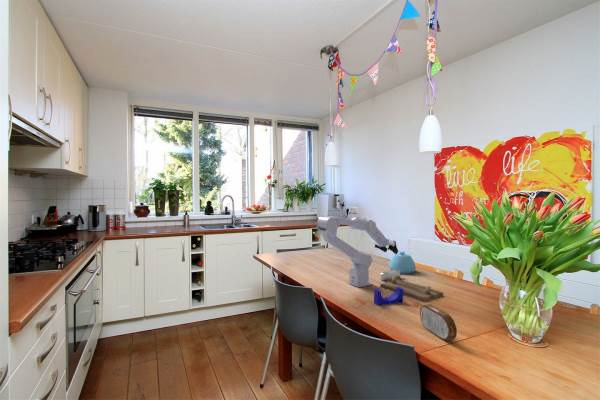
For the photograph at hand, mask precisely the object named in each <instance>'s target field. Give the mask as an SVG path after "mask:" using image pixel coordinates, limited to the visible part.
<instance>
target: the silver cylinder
mask: <svg viewBox="0 0 600 400" xmlns="http://www.w3.org/2000/svg"><path fill="white" fill-rule="evenodd" d="M379 275H380V277H379V279H380V280H381V281H380V282H383V281H386V282H390V281H392V277H393V276H395V277H396V280H401V274H400V270H392V271H391V270H388V271H383V272H380V274H379ZM389 280H390V281H389Z"/></svg>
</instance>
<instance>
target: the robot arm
mask: <svg viewBox="0 0 600 400" xmlns="http://www.w3.org/2000/svg"><path fill="white" fill-rule="evenodd" d="M340 225H343V226H350V228H351V229H352V230H358V231H364V232H366V233H367V235H368V236H369V238H371V239H372V241H371V242H372V244H374V248H376V249H378V250H380V251H381V252H383V253H387V251H388V250H389V251H391V252H392V253H393V254H399V249H398V246H397V242H396V240H391V239H390V238H388V235H385V234H384V233H382V231H381V230H380V229H379V228H378V227H377V223H376V221H373V220H370V219H367V218H364V217H363V218H360V217H359V216H355V217H352V218H346V217H341V216H330V215H329V216H328V215H327V216H324V215H321V216H319V217H318V218H317V219H316V228H317V230H318V231H319V233H320V234H321V238H322V239H323V241H324V242H326V243H327V244H328V245H330V246H332V247H333V248H335V250H338V251H339V252H341V253H342V254H344V255H345V256H347V257H348V259H350V261H351V262H352V263H353V267H352V268H350V270H349V277H348V278H349V282H347V283H348V284H350V285H352V286H354V287H356V288H357V287H358V288H361V287H365V286H366V287H367V286H370V285H373V282H370V281H369V280H370V278H369V277H370V276H369V275H370V271H369V269H370V266H371V265H372V263H373V258H372V256H371V255H370V254H365V253H364V252H361V251H359V250H358V249H356V248H354V247H353V246H351V245H350V244H348V243H347V242H345V241H344V240H343V239H341V238H340V237H338V236H337V231H338V228H339V227H340ZM387 246H388V247H387Z"/></svg>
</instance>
